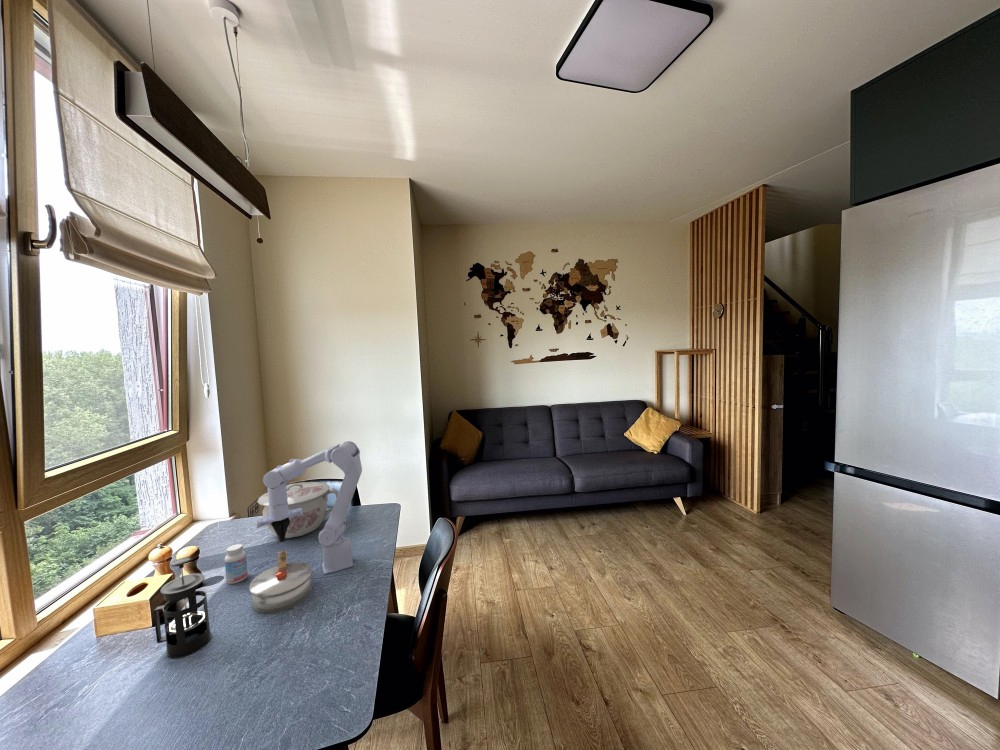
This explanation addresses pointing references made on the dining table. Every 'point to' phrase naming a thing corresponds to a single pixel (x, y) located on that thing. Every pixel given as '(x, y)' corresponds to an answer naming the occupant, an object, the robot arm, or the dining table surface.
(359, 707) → the dining table surface
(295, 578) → the cooker lid
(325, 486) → the chamber pot
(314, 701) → the dining table surface
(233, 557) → the pill bottle
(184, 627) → the french press
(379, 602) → the dining table surface
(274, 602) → the white oval dish
